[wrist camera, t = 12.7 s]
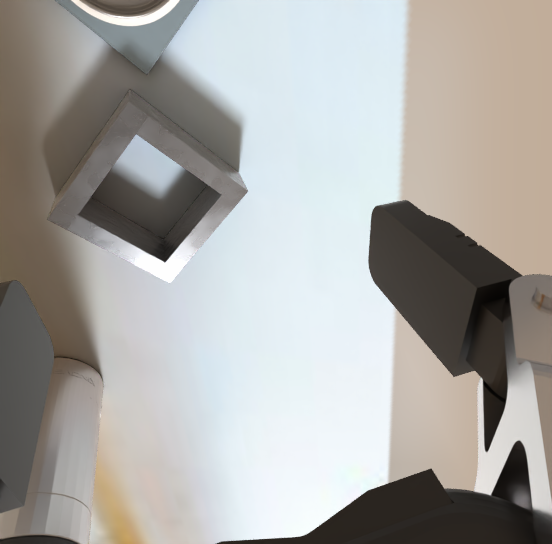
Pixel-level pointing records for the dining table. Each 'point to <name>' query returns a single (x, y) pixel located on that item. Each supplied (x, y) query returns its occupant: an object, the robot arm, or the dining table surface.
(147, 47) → the mat
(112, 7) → the can
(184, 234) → the sleeve
